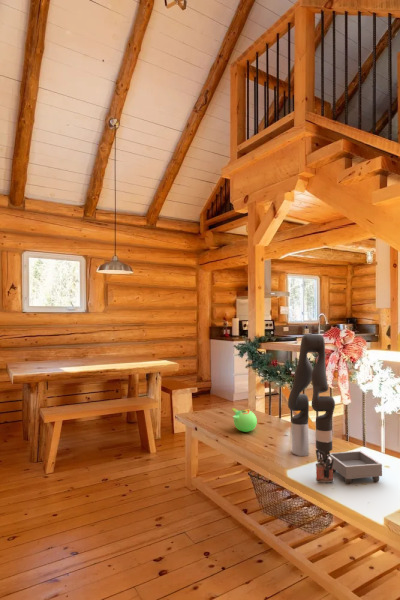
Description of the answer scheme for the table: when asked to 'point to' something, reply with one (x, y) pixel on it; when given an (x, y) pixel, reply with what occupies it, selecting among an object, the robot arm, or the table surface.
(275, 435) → the table surface
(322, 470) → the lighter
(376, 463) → the cart
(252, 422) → the green apple
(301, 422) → the robot arm
